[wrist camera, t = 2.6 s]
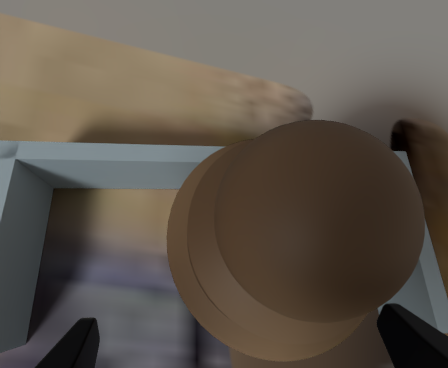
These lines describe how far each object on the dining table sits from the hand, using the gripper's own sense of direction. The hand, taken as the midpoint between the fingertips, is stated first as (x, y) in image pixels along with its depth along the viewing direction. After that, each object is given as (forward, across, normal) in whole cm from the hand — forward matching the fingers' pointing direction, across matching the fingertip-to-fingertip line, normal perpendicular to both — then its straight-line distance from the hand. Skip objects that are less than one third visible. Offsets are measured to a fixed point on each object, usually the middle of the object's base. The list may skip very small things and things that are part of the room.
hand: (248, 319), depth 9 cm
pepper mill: (+8, 0, +5) cm, 9 cm away
